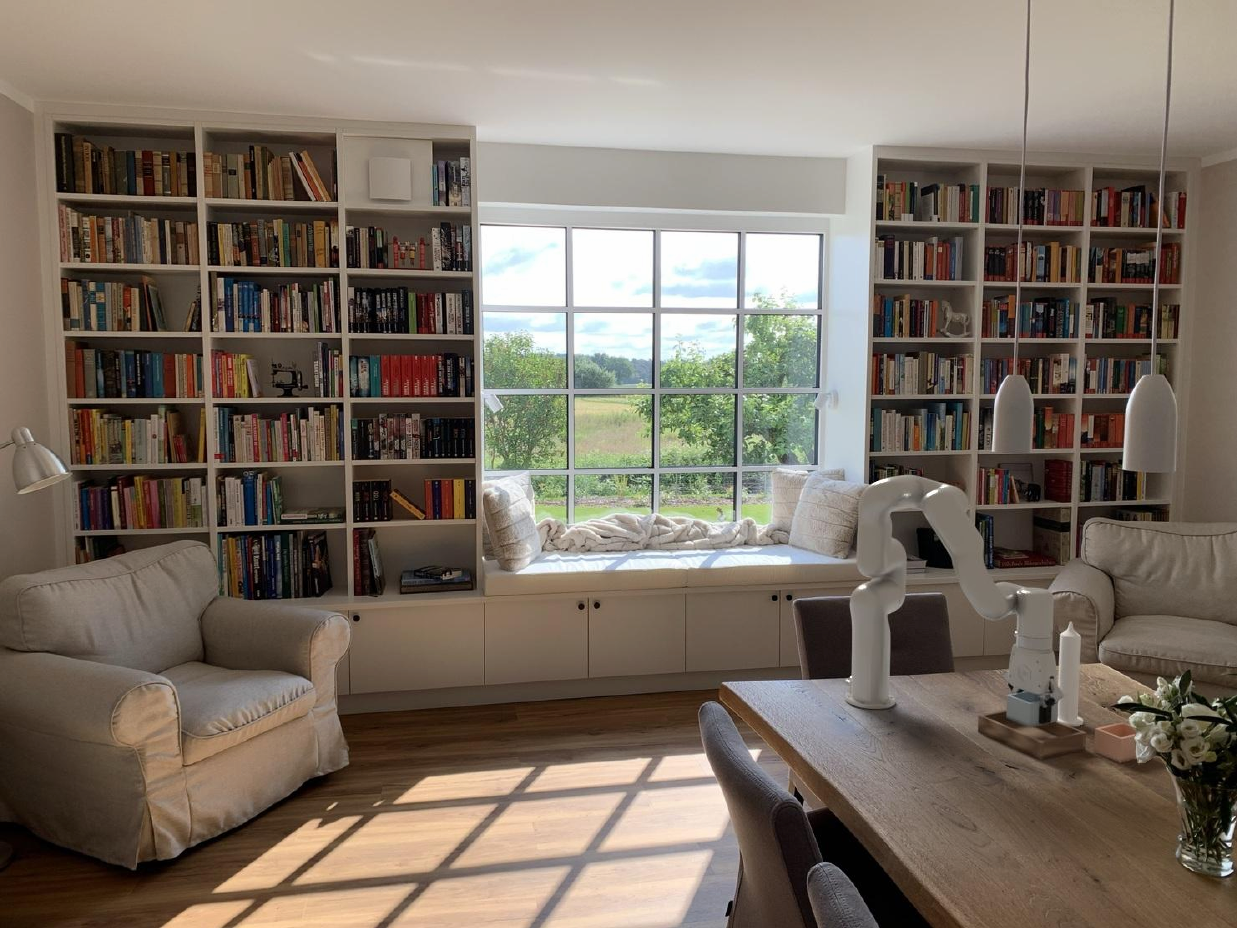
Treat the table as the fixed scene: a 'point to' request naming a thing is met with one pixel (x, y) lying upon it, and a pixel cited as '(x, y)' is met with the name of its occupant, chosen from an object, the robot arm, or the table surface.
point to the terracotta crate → (1115, 742)
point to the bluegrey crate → (1027, 709)
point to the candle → (1069, 677)
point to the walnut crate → (1033, 736)
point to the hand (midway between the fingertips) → (1031, 716)
